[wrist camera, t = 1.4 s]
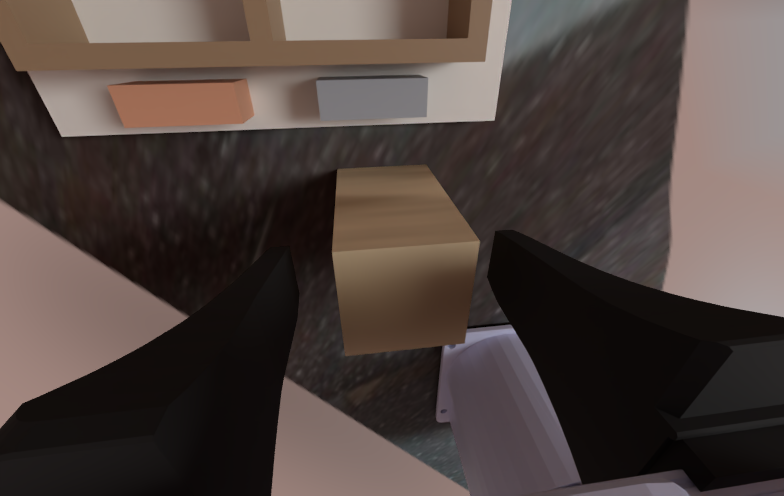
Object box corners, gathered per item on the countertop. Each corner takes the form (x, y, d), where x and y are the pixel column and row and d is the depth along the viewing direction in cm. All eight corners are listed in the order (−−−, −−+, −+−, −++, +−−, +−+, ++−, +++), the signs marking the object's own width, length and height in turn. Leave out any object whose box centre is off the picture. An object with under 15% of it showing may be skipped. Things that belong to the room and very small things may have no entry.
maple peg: (422, 240, 17) (464, 343, 11) (345, 246, 17) (345, 356, 11) (426, 164, 15) (479, 241, 9) (337, 168, 14) (331, 252, 8)
